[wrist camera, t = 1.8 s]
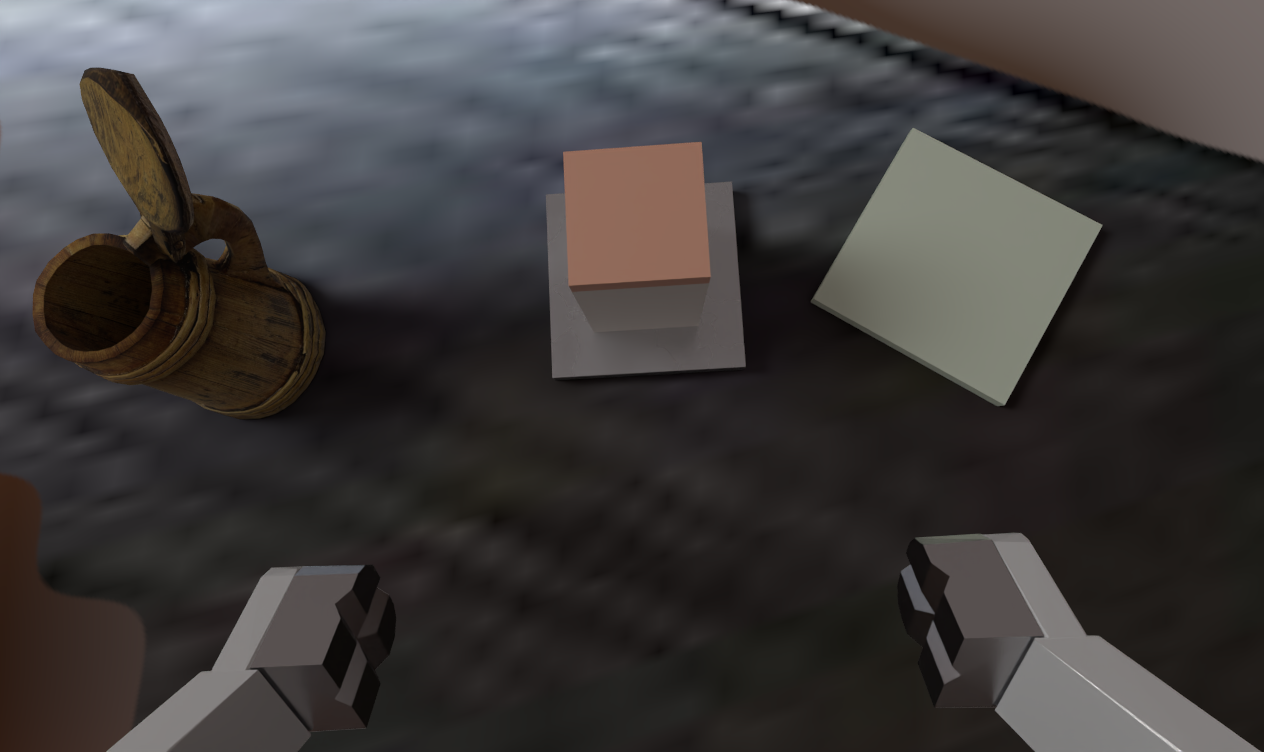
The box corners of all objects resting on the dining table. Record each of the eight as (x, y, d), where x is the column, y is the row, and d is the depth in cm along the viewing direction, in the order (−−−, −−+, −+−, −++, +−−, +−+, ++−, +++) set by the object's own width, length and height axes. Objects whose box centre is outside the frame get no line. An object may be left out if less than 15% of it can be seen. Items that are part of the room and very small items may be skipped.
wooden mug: (411, 290, 40) (203, 151, 22) (246, 449, 39) (-109, 438, 21) (316, 194, 41) (46, -14, 23) (154, 345, 40) (-256, 252, 22)
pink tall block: (698, 326, 37) (710, 276, 27) (593, 332, 37) (568, 285, 28) (691, 225, 38) (701, 141, 28) (589, 232, 38) (563, 151, 28)
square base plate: (743, 369, 38) (758, 351, 32) (555, 380, 38) (535, 364, 32) (729, 190, 39) (741, 139, 33) (549, 202, 40) (528, 155, 34)
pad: (997, 406, 37) (1004, 404, 36) (810, 302, 38) (813, 298, 37) (1093, 230, 38) (1102, 225, 37) (907, 134, 39) (912, 127, 38)
